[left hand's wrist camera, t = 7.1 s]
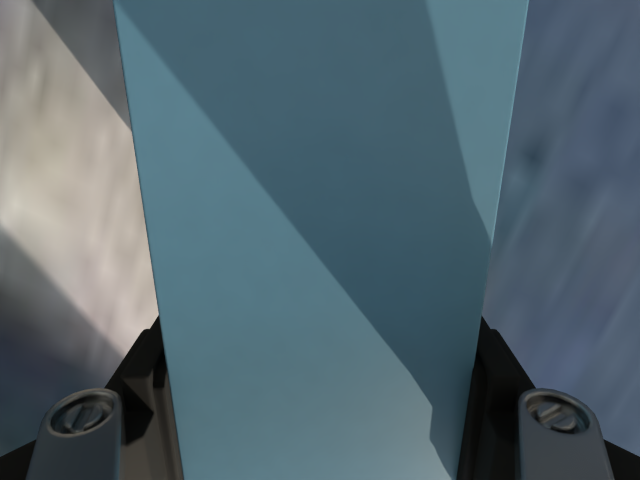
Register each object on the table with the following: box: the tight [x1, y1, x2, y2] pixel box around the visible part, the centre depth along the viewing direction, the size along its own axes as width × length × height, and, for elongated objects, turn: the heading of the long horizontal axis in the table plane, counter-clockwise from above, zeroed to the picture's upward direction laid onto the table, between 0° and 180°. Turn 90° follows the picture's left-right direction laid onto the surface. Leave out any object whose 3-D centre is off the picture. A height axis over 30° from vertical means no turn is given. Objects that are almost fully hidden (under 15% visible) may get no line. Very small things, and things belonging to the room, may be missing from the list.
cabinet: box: [113, 0, 529, 480], centre depth 12 cm, size 20×6×12 cm, turn 0°
